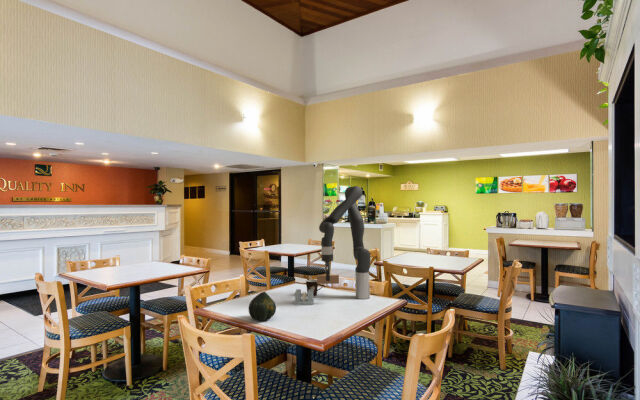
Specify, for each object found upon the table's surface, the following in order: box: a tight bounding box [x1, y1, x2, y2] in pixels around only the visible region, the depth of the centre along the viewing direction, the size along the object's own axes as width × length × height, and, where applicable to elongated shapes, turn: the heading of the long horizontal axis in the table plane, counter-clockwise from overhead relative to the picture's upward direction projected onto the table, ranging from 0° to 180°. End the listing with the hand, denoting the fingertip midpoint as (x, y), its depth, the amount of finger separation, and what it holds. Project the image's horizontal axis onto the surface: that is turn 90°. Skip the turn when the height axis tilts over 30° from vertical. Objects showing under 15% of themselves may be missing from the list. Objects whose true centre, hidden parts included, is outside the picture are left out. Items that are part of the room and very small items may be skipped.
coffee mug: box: [305, 279, 324, 297], centre depth 248 cm, size 12×9×10 cm
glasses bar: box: [316, 274, 340, 285], centre depth 228 cm, size 14×3×5 cm, turn 87°
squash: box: [248, 291, 277, 322], centre depth 196 cm, size 14×15×15 cm
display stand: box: [293, 288, 315, 306], centre depth 228 cm, size 12×10×8 cm
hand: (328, 280), depth 228 cm, fingers closed on glasses bar, 3 cm apart
